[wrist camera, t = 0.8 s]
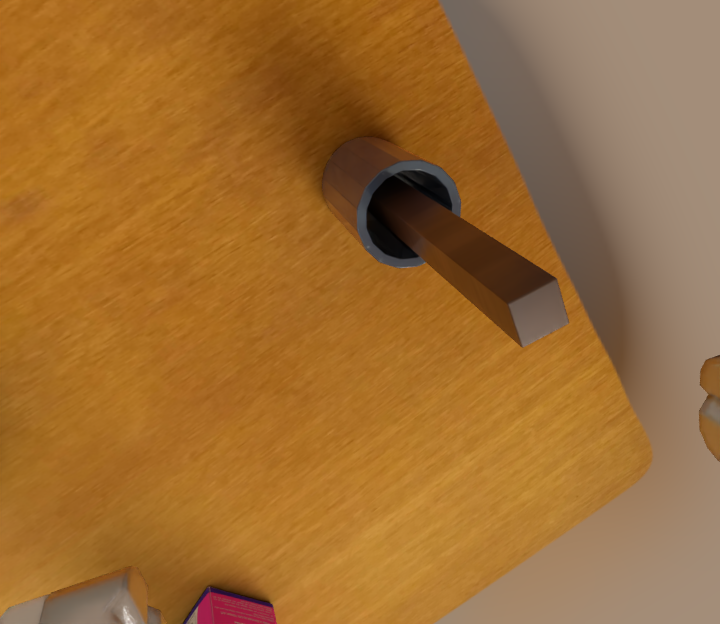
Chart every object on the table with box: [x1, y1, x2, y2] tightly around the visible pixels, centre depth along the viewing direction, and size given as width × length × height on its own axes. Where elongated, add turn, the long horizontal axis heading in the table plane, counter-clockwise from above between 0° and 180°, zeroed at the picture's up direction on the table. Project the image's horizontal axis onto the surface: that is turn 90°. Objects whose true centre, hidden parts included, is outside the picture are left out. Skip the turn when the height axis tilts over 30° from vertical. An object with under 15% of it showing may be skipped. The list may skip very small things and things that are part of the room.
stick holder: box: [322, 137, 461, 268], centre depth 35 cm, size 5×5×8 cm
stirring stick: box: [367, 175, 569, 347], centre depth 30 cm, size 2×2×20 cm
